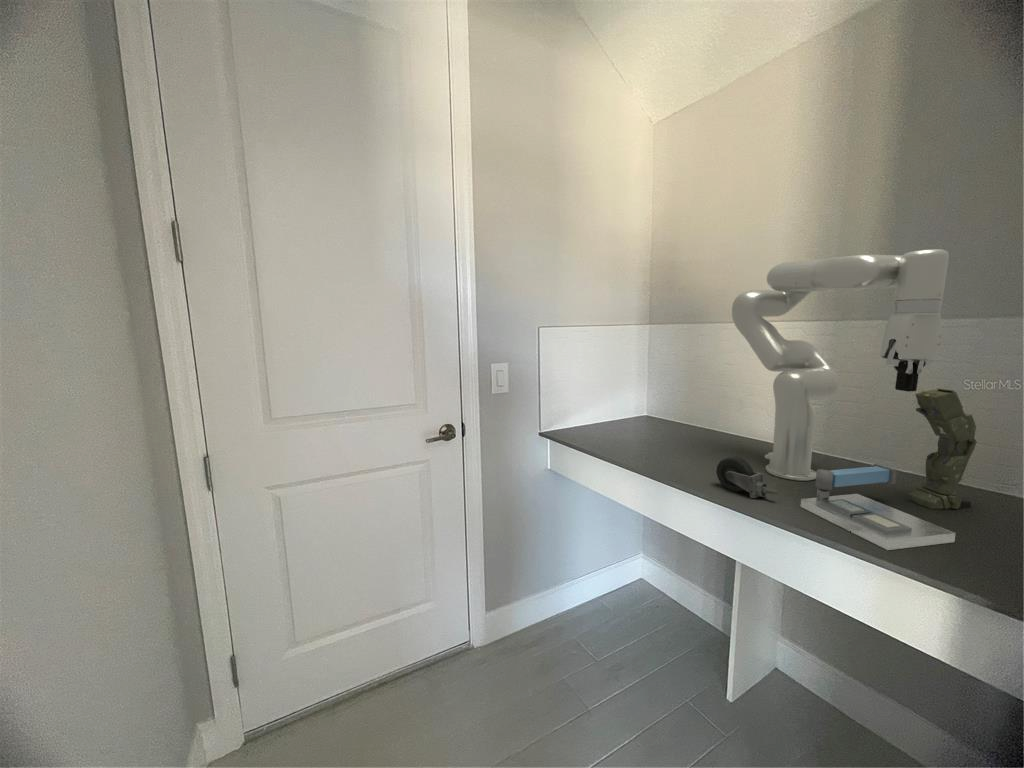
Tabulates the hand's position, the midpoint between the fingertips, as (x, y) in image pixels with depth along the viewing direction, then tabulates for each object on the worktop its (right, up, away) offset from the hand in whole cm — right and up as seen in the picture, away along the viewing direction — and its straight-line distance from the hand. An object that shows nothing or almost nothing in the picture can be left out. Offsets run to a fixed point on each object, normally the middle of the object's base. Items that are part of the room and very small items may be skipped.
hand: (905, 390), depth 91 cm
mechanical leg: (+15, -28, +7) cm, 33 cm away
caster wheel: (-27, -28, +16) cm, 42 cm away
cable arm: (-5, -23, +8) cm, 25 cm away
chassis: (-9, -30, -1) cm, 31 cm away
